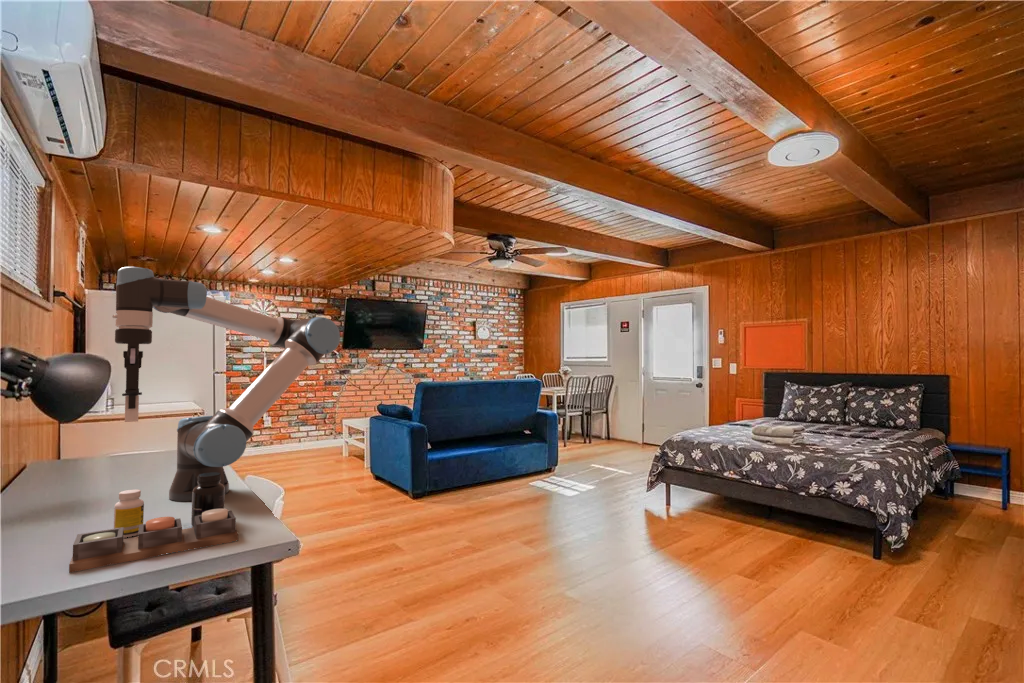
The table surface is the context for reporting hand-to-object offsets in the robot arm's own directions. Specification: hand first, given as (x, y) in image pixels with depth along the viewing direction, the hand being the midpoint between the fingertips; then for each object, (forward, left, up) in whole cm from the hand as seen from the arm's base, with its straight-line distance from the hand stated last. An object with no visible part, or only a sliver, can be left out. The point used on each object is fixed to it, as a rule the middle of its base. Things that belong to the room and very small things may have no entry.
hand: (131, 421), depth 127 cm
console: (+7, +28, -24) cm, 38 cm away
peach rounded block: (-2, +32, -21) cm, 39 cm away
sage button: (+16, +24, -23) cm, 36 cm away
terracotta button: (+7, +28, -21) cm, 36 cm away
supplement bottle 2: (-7, +22, -25) cm, 33 cm away
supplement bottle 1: (+6, +13, -25) cm, 28 cm away
